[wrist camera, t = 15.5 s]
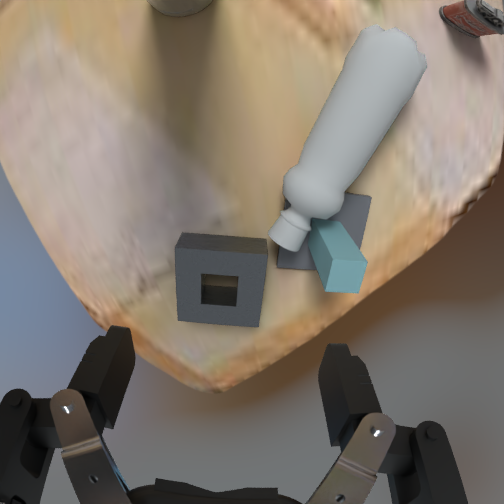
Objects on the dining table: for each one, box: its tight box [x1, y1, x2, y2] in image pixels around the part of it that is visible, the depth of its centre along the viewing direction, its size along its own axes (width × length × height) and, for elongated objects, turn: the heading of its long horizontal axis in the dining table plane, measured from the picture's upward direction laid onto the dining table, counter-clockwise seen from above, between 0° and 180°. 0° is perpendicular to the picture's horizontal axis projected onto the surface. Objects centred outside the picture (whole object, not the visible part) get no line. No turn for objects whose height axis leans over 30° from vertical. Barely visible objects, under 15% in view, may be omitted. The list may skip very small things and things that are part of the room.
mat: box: [277, 192, 372, 270], centre depth 44 cm, size 12×12×1 cm
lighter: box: [439, 0, 504, 38], centre depth 25 cm, size 8×3×10 cm, turn 80°
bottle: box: [268, 24, 427, 252], centre depth 34 cm, size 9×9×30 cm
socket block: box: [175, 233, 268, 327], centre depth 45 cm, size 12×12×5 cm
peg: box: [308, 219, 368, 293], centre depth 38 cm, size 4×4×12 cm
